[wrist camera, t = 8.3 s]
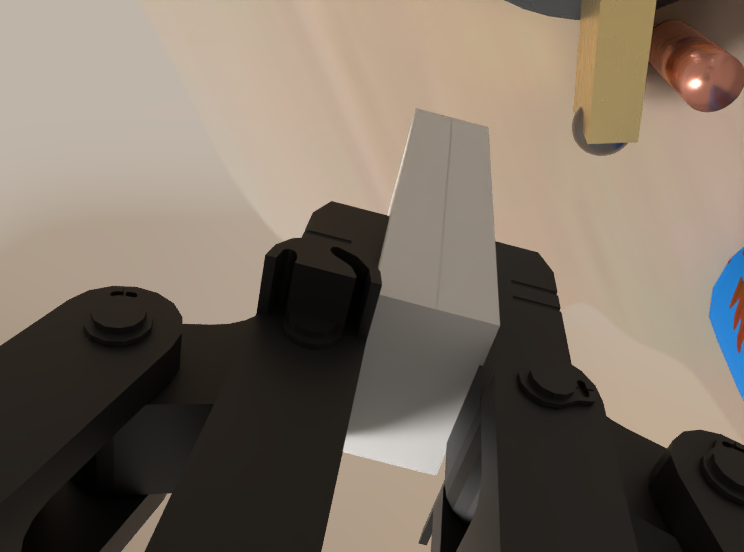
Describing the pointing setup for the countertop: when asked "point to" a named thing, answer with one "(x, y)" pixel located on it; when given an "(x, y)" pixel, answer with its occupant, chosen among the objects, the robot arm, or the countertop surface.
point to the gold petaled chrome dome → (611, 73)
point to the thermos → (730, 316)
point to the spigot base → (674, 57)
